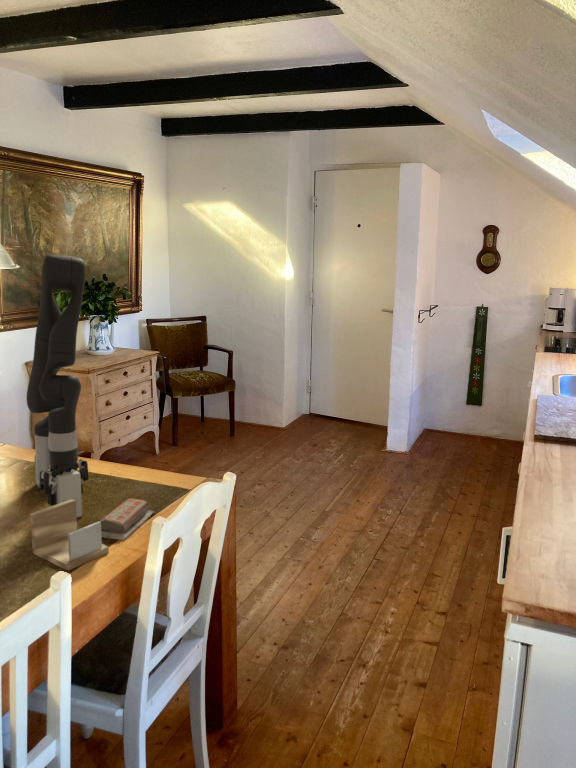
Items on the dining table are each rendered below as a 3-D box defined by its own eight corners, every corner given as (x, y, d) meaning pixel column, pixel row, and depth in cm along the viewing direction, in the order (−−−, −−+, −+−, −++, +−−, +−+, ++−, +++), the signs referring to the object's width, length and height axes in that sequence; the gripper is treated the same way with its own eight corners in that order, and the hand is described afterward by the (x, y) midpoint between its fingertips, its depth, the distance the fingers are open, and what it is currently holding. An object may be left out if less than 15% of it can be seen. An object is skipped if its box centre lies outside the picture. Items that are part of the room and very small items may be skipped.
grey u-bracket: (32, 553, 161) (30, 513, 159) (73, 536, 170) (72, 498, 168) (67, 570, 153) (65, 529, 151) (108, 552, 162) (107, 513, 160)
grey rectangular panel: (69, 560, 155) (67, 533, 153) (99, 547, 162) (99, 521, 160) (71, 561, 154) (69, 534, 153) (102, 548, 161) (101, 522, 160)
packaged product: (122, 494, 187) (154, 499, 185) (122, 510, 188) (154, 514, 186) (89, 520, 170) (124, 525, 168) (90, 537, 171) (124, 542, 169)
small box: (82, 516, 182) (81, 473, 180) (60, 522, 178) (58, 477, 176) (71, 507, 188) (69, 464, 186) (49, 512, 184) (47, 469, 182)
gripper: (76, 437, 187) (78, 490, 190) (32, 449, 175) (35, 505, 179) (93, 442, 182) (95, 496, 186) (48, 455, 171) (51, 512, 175)
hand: (65, 501), depth 182 cm, fingers open, 8 cm apart
